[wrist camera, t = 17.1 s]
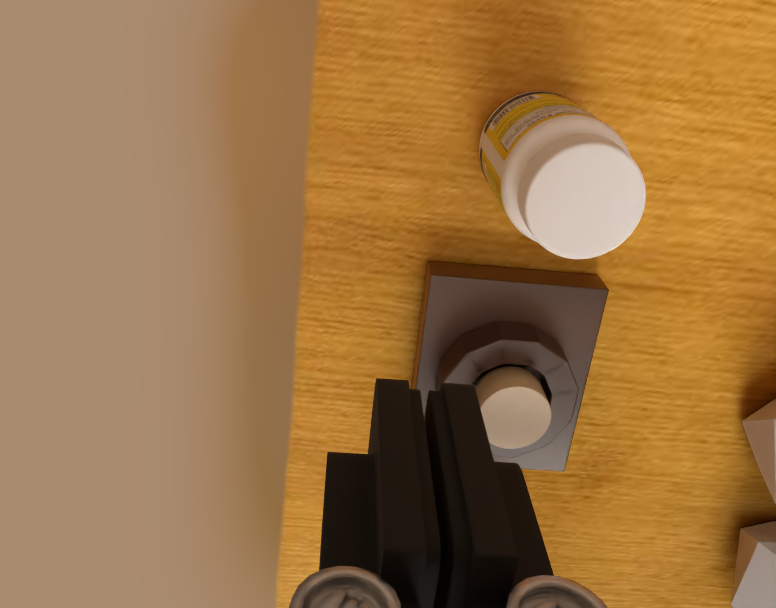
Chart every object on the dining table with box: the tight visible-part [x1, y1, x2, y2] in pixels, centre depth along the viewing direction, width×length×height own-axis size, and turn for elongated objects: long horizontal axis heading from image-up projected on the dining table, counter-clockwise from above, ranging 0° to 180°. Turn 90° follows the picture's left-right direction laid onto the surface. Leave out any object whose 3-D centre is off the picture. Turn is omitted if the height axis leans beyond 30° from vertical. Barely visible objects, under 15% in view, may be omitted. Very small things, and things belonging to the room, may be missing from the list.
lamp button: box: [475, 366, 551, 449], centre depth 33 cm, size 3×3×2 cm
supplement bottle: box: [479, 91, 646, 259], centre depth 28 cm, size 5×5×8 cm
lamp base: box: [411, 261, 609, 471], centre depth 35 cm, size 10×8×4 cm
